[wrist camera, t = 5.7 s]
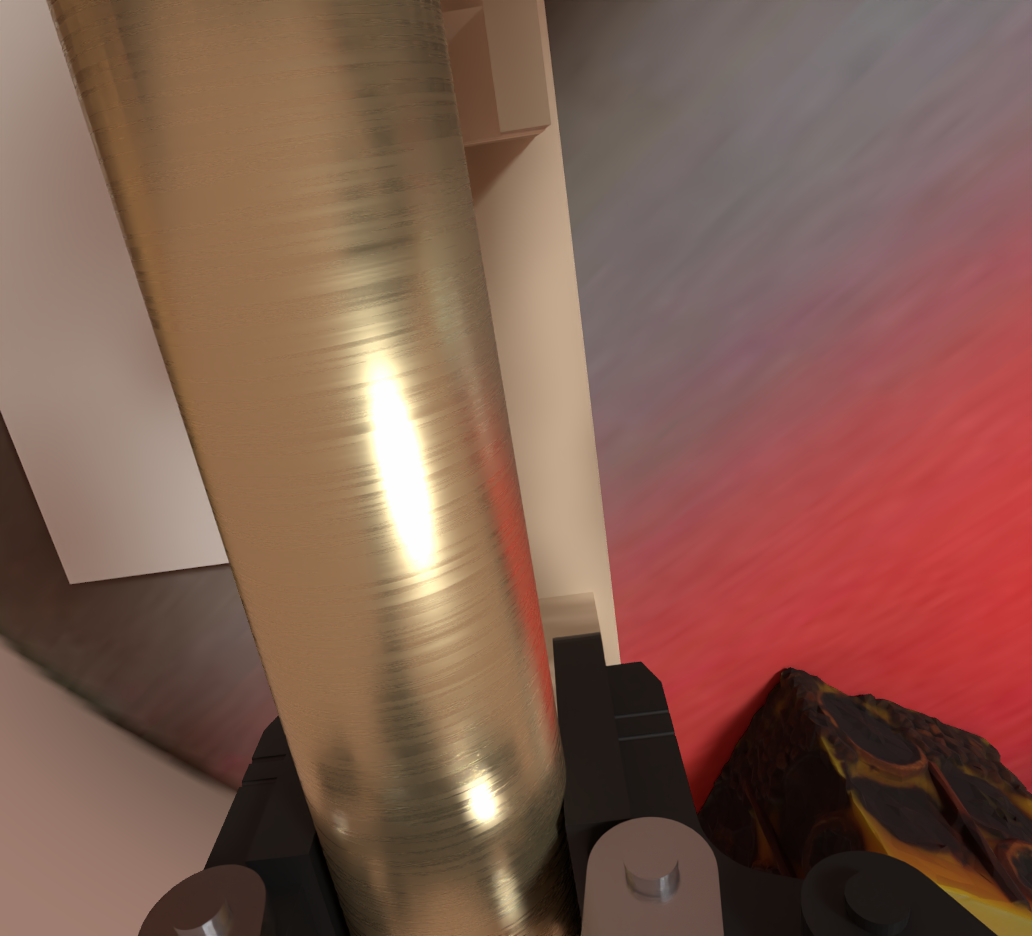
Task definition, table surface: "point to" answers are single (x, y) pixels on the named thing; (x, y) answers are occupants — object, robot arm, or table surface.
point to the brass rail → (347, 428)
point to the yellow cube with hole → (875, 798)
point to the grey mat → (83, 338)
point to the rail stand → (534, 304)
